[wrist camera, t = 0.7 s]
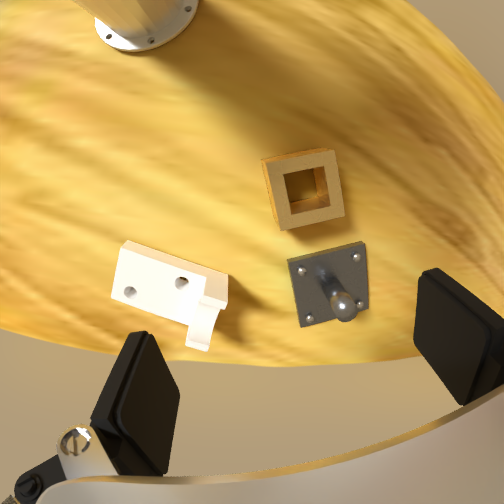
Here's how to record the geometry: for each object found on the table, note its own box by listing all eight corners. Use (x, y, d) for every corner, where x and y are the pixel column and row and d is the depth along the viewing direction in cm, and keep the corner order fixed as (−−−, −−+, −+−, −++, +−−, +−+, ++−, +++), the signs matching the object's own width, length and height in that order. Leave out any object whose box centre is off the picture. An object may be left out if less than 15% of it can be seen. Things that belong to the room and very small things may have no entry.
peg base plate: (286, 259, 37) (298, 285, 31) (361, 240, 37) (385, 262, 30) (299, 323, 41) (310, 355, 34) (365, 305, 41) (385, 333, 34)
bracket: (228, 271, 38) (227, 302, 31) (210, 316, 40) (206, 351, 33) (130, 237, 35) (108, 261, 28) (119, 284, 37) (99, 315, 30)
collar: (260, 159, 33) (265, 163, 28) (320, 147, 32) (334, 149, 28) (274, 218, 35) (280, 231, 30) (330, 205, 35) (345, 216, 30)
